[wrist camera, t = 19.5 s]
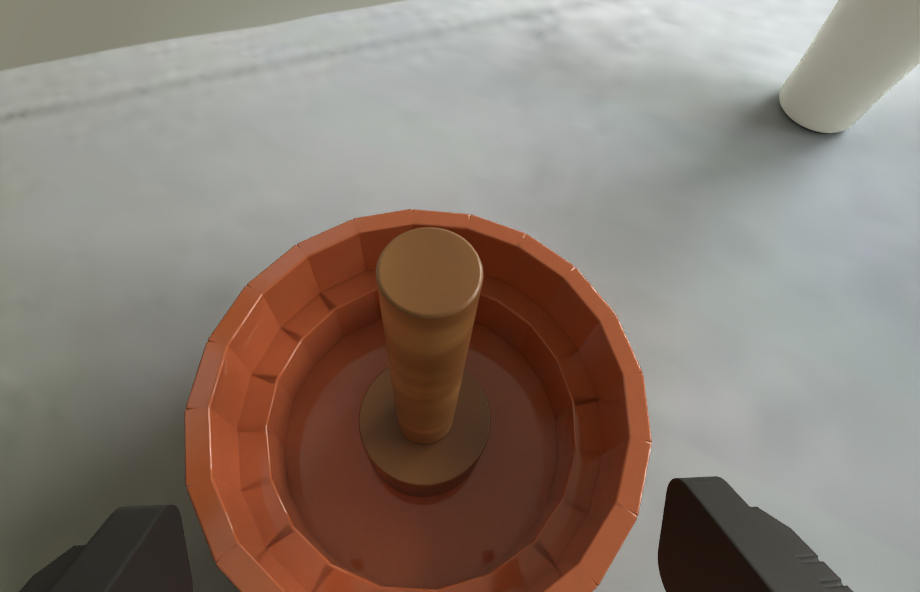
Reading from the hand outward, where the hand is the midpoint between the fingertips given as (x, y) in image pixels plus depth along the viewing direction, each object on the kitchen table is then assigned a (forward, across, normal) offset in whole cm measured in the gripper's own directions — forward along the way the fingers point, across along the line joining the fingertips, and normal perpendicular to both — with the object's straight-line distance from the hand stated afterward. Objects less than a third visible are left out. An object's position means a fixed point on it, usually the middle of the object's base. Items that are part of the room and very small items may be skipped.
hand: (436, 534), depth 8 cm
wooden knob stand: (+13, 0, -6) cm, 14 cm away
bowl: (+14, 0, -6) cm, 15 cm away
